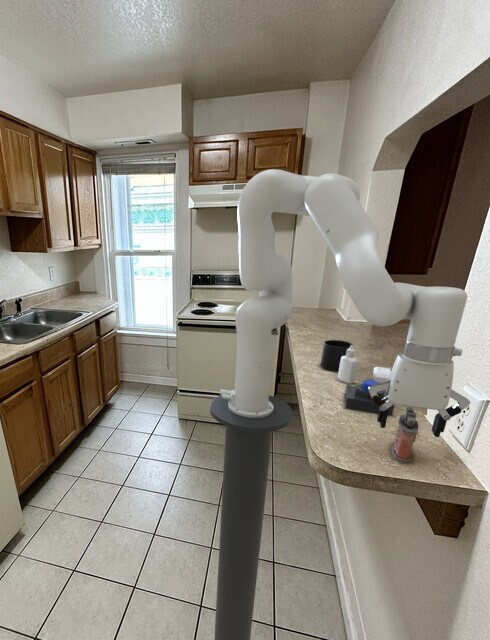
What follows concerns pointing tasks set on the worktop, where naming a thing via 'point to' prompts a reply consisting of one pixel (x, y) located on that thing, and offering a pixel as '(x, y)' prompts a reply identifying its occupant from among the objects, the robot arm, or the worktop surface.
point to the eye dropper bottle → (348, 367)
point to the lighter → (405, 436)
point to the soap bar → (381, 374)
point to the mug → (333, 354)
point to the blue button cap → (368, 384)
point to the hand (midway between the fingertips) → (407, 429)
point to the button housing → (363, 399)
